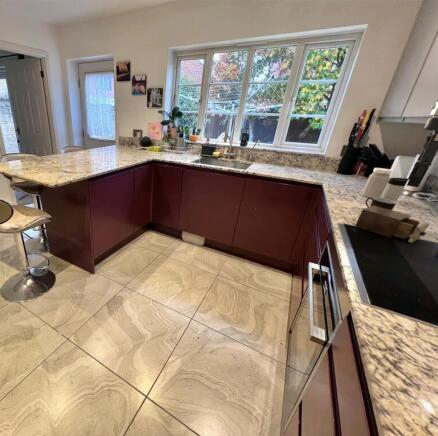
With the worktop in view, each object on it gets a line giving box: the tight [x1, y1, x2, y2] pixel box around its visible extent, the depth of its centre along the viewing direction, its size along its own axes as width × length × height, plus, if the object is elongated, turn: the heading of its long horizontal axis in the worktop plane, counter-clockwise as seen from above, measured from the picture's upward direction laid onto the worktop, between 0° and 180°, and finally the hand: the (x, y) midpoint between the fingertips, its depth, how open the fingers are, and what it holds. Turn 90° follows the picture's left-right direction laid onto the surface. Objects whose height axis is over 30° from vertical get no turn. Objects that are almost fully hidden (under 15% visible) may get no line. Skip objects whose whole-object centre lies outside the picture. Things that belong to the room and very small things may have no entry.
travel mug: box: [381, 177, 409, 211], centre depth 118 cm, size 6×7×20 cm
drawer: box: [393, 218, 430, 244], centre depth 98 cm, size 13×10×7 cm
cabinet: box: [354, 205, 411, 239], centre depth 104 cm, size 13×12×9 cm
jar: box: [361, 167, 393, 199], centre depth 147 cm, size 10×10×18 cm
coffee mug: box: [365, 197, 398, 210], centre depth 116 cm, size 12×9×10 cm
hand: (412, 182), depth 82 cm, fingers open, 13 cm apart
